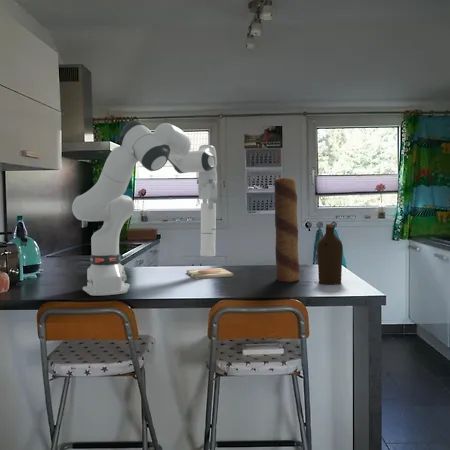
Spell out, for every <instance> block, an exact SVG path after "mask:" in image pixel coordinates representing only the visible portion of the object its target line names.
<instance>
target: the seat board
mask: <svg viewBox="0 0 450 450" xmlns="http://www.w3.org/2000/svg"><path fill="white" fill-rule="evenodd" d="M187 273H188V275H189V274H190V275H191V276H190V275H189V276H190V277H191V278H193V277H194V278H193V279H195V280H200V279H201V280H202V279H203V278H204V279H215V278H217V279H218V278H231V277H234V272H230V271H229V270H227V269H225V268H222V267H219V268H218V267H217V268H216V267H215V268H200V269H199V268H198V269H188V270H187V269H186V274H187Z"/></svg>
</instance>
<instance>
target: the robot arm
mask: <svg viewBox="0 0 450 450" xmlns="http://www.w3.org/2000/svg"><path fill="white" fill-rule="evenodd" d="M191 143H192V142H191V139H190V137H189V136H188V135H187V133H185V132H184V130H182V129H181V128H179V127H177V126H176V125H174V124H171V123H167V122H164V123H160V124H158V126H156V127H155V130H154V132H152V131H151V130H150V129H149V128H148V127H147V125H146V124H144V123H143V122H141V121H140V120H131V121H129V122H127V123H126V124H125V125H124V126H123V128H122V130H121V132H120V137H119V139H118V144H119V146H117V147H115V148H113V149H112V150H111V151H110V152H109V155H108V156H107V158H106V161H105V162H104V165H103V168H102V170H101V173H100V175H99V178H98V180H97V182H96V183H95V184H94V185H93V186H92V187H91V188H90V189H88V190H87V191H86V192H84V193H83V194H81V195H80V194H79V195H77V196H76V197H75V198H74V200H73V202H72V204H71V210H72V214H73V216H74V217H75V218H76V219H77V220H79V221H84V222H103V225H102V226H101V228H100V229H98V230H96V231H95V232H94V233H93V234H92V236H91V238H90V240H91V241H90V245H91V255H90V258H89V259H90V264H91V265H90V266H89V267H88V268H87V272H86V274H87V276H86V277H87V278H86V279H87V280H86V283H87V285H86V286H83V287H82V291H84V292H86V293H87V294H88V295H90V296H95V297H96V296H111V295H112V296H113V295H120V294H121V295H122V294H127V293H128V290H129V289H130V283H127V282H126V281H127V277H128V276H127V274H126V271H125V267H124V265H122V264H121V262H122V261H121V253H120V234H121V232H122V231H121V230H122V229H123V226H124V224H126V222H127V221H128V220H129V219H131V217H132V216H133V214H134V211H135V202H134V200H133V198H131V197H130V196H129V195H126V194H125V193H126V191H127V188H128V186H129V184H130V181H131V179H132V176H133V173H134V169H135V166H136V164H137V163H138V162H139V163H140V164H141V165H142V167H143V168H144V169H146V170H147V171H149V172H154V171H160V170H161V169H162V168H163V167H165V165H166V164H167V162H169V163H170V164H171V165H172V168H173V169H174V170H175V172H177V173H178V174H186V173H189V174H190V173H197V176H198V177H197V179H196V184H197V189H198V190H197V191H198V199H199V200H202V203H209V206H208V209H213V203H215V202H214V201H215V200H218V185H217V184H218V172H217V163H218V159H217V150H216V148H215V146H214V145H211V144H201V145H200V146H199V148H198V150H193V151H192V150H191V145H192V144H191ZM190 150H191V151H190ZM125 282H126V283H125Z"/></svg>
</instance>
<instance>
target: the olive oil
mask: <svg viewBox="0 0 450 450" xmlns="http://www.w3.org/2000/svg"><path fill="white" fill-rule="evenodd" d="M334 226H335V225H334V223H326V224H325V233H324V235H323V236H322V237H321V238H320V239H319V240H318V242H317V245H316V252H317V266H318V267H317V269H318V270H317V271H318V272H317V273H318V283H319V284H321V285H331V286H333V285H340V284H342V273H343V272H342V270H343V269H342V267H343V249H344V247H343V246H344V245H343V242H342V241H341V239H340V238H339V237H338V235H336V234H335V228H334Z"/></svg>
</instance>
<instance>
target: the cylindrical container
mask: <svg viewBox="0 0 450 450" xmlns="http://www.w3.org/2000/svg"><path fill="white" fill-rule="evenodd" d="M208 206H209V202H207V203H203V202H201V203H200V251H199V252H200V254H199V255H200V257H215V256H216V239H217V238H216V236H217V235H216V232H217V231H216V230H217V229H216V228H217V227H216V225H217V222H216V221H217V220H216V219H217V203H216V202H214V203H213V209H208Z"/></svg>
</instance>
